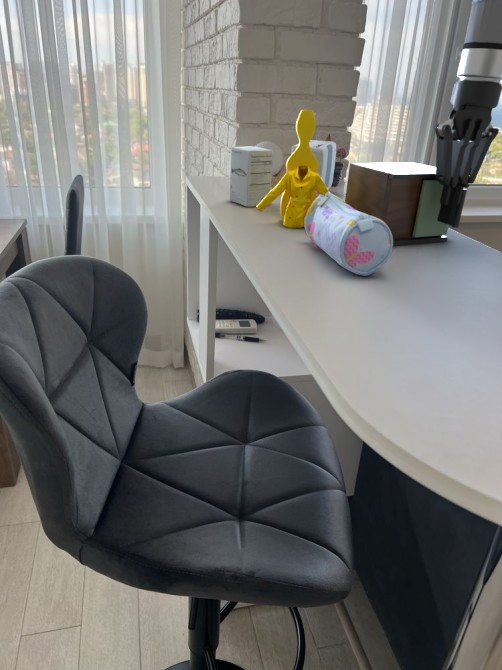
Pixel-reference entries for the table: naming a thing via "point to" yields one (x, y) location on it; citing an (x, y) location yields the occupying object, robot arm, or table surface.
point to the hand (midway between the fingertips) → (444, 222)
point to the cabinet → (390, 196)
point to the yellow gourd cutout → (323, 159)
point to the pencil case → (348, 234)
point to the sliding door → (433, 211)
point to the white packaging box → (250, 174)
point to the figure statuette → (298, 177)
